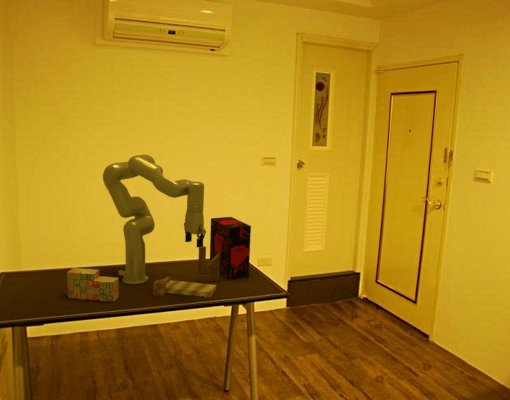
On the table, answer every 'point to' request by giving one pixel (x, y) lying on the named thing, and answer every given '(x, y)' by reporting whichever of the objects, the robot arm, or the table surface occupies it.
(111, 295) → the stack of blocks
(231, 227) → the box
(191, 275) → the table surface
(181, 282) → the board
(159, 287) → the gauge
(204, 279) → the brown angled bracket
